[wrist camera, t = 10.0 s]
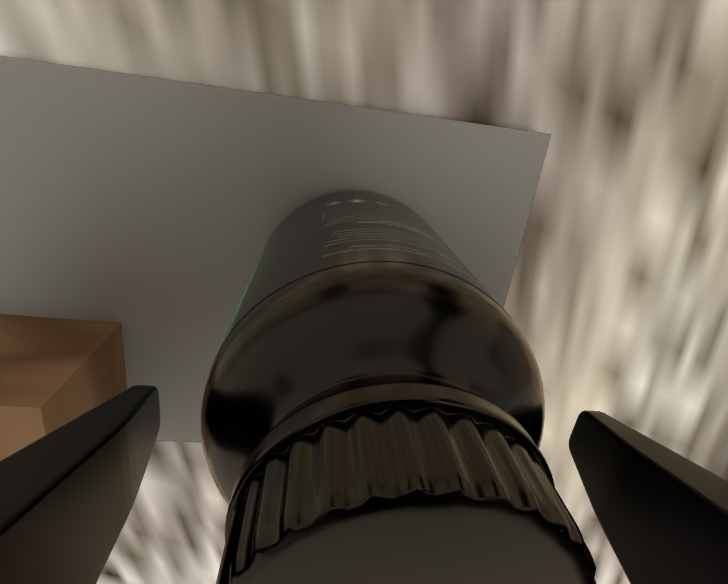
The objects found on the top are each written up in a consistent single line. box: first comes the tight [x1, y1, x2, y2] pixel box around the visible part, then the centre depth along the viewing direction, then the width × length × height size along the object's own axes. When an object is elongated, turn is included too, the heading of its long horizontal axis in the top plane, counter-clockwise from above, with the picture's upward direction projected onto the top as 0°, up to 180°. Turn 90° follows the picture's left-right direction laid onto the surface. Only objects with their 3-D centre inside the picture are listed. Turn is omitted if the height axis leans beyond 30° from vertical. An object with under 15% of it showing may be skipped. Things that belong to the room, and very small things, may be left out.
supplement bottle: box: [201, 191, 596, 584], centre depth 11 cm, size 7×7×12 cm
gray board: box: [0, 56, 551, 442], centre depth 17 cm, size 20×14×1 cm
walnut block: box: [0, 314, 127, 461], centre depth 15 cm, size 5×5×5 cm
